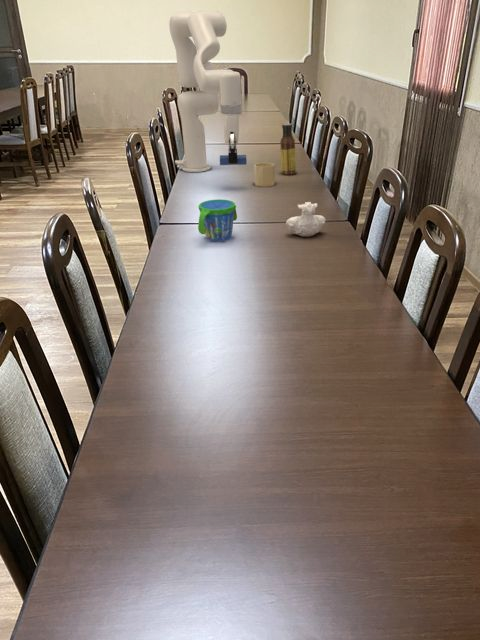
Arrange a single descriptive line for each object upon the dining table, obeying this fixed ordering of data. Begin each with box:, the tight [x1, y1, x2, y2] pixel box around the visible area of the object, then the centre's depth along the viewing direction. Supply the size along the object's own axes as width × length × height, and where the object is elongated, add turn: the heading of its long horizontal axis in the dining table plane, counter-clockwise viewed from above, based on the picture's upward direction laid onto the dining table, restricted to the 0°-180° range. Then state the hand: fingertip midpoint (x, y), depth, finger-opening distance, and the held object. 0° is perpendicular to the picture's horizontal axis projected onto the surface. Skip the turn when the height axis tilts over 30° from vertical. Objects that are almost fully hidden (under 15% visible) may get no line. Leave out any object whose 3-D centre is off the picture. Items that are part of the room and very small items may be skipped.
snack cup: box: [197, 198, 238, 242], centre depth 157 cm, size 16×10×10 cm
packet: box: [219, 154, 247, 166], centre depth 204 cm, size 10×6×2 cm, turn 93°
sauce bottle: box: [279, 123, 297, 176], centre depth 225 cm, size 7×6×20 cm
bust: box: [285, 201, 326, 238], centre depth 158 cm, size 12×8×11 cm
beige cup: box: [253, 162, 276, 188], centre depth 213 cm, size 8×8×8 cm
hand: (233, 161), depth 204 cm, fingers closed on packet, 5 cm apart
